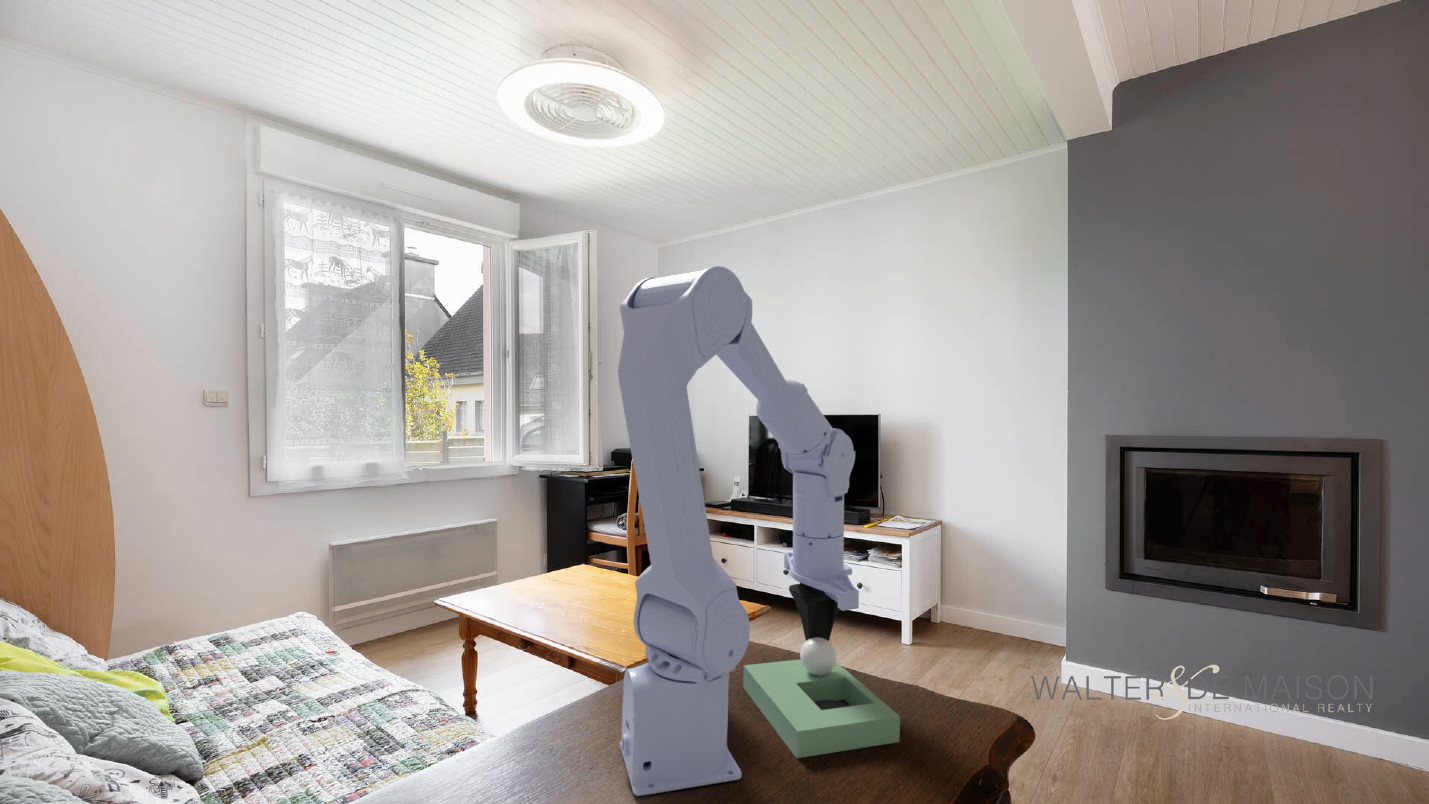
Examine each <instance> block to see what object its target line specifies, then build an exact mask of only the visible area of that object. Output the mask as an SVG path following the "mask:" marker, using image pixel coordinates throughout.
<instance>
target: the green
mask: <svg viewBox="0 0 1429 804" xmlns="http://www.w3.org/2000/svg"><path fill="white" fill-rule="evenodd" d="M835 665H836V666H834V667H833V669H832V670H831V671H830V672H829V673H827V674H825V675H814V674H811V673H810V672H808V671H807V670H806V669H805V668H804V666H803V664H802V662H801V658H800V659H790V660H781V661H780V660H779V661H773V662H772V661H771V662H765V663H764V662H763V663H755V664H753V663H752V664H745V665H744V664H743V671H742V674H743V676H742V677H743V678H742V679H743V680H742V688H743V689H744V691H745V693H747V694H748V696H749V697H750V698H751V700H752V701H753V703H754V704H755V705H756V706H757V708H758V709H759V710H760V713H762V715H763V716H764V717H765V718H766V720H767V721H768V722H769V723H770V725H771V726H772V728H773V729H774V730H775V732H776V733H777V735H779V737H780V739H781V740H782V741H783V742H784V744H785V745H786V747H788V748H787V749H788V750H789V751H791V754H793V756H794V757H795V758H796V759H800V758H801V759H802V758H807V757H808V758H809V757H813V756H819V755H825V754H833V753H839V752H845V751H850V750H858V749H863V748H868V747H876V746H883V745H889V744H896V743H900V734H901V733H900V731H901V729H900V727H901V716H900V715H899V714H898V713H897V712H896V711H894V710H893V709H892V708H891V707H889V705H887V704H886V703H885V702H884V701H883V700H882V699H880V697H878V696H877V695H876V694H874V693H873V692H872V691H871V690H870V689H869V688H868V687H866V686H865V685H864V684H863V683H861V681H859V680H858V679H857V678H856V677H855V676H853V675H852V674H851V673H850V671H848V670H847V669H846V668H844V667H843V666H842V665H840V664H839V662H837V661H836V663H835ZM842 667H843V668H842ZM843 700H844V701H845V702H847V703H845V702H842V701H843Z"/></svg>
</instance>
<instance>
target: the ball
mask: <svg viewBox="0 0 1429 804" xmlns="http://www.w3.org/2000/svg"><path fill="white" fill-rule="evenodd" d="M799 657H800V659H801V662H802V664H803V666H804V668H805V669H806V670H807V671H808V672H810V673H811V674H814V675H825V674H827V673H829V672H830V671H831V670H832V669H833V667H834V666H835V663H836V662H837V652H836V649H835V647H834V645H833V644H832V643H831V641H830V640H829V641H828V640H826V639H824V638H821V637H814V638H811V639H809V640H807V641H806V640H805V641H804V643H803V645H802V646H801V649H800V654H799Z"/></svg>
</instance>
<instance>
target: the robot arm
mask: <svg viewBox="0 0 1429 804" xmlns="http://www.w3.org/2000/svg"><path fill="white" fill-rule="evenodd" d="M619 311H620V317H621V323H622V329H623V339H622V344H621V350H620V355H619V360H618V361H619V362H618V367H617V374H618V383H619V389H620V390H619V391H620V394H621V400H622V401H621V402H622V407H623V412H624V417H625V418H624V419H625V424H626V429H627V430H626V431H627V434H628V440H629V446H630V453H631V458H632V464H633V468H634V469H633V470H634V474H635V480H636V481H635V482H636V487H637V493H638V498H639V503H640V509H641V514H642V521H643V526H644V527H643V528H644V532H645V537H646V542H647V543H646V544H647V550H648V554H649V561H650V565H649V566H647V568H645V570H643V572H642V573H641V574H640V575H639V576H638V577H636V579H635V581H634V585H635V591H636V603H635V609H634V613H633V628H634V633H635V635H636V637H637V639H638V640H639V641H640V642H641V644H644V645H645V658H646V659H648V661H647V662H646V663H644V664H642V665H639V666H635V667H631V668H628V669H626V670H625V672H624V676H623V684H622V685H623V686H622V687H623V688H622V711H621V712H622V713H621V714H622V715H621V716H622V717H621V718H622V719H621V720H622V721H621V741H620V743H619V744H620V745H619V747H620V750H621V754H622V757H623V761H624V765H625V767H626V771H627V775H628V779H629V782H630V786H631V789H632V793H633V794H634V795H635V796H637V797H641V796H646V795H648V796H649V795H652V794H658V793H664V792H671V791H676V790H683V789H688V788H694V787H701V786H707V785H713V784H720V783H726V782H731V781H738V780H740V779H741V778H742V775H743V774H742V771H741V769H740V766H739V765H738V764H737V762H736V760H735V759H734V757H733V755H732V753H731V752H730V750H729V748H728V720H729V719H728V718H729V717H728V715H729V714H728V713H729V712H728V711H729V687H730V685H729V684H730V679H729V678H730V672H733V671H734V670H736V667H737V666H738V664H739V663H740V662H741V660H742V659H743V657H744V656H745V654H746V651H747V649H748V645H749V642H750V634H751V632H750V631H751V627H750V626H751V624H750V618H749V615H748V612H747V610H746V608H745V607H744V606H743V604H742V603H741V601H740V599H739V595H738V590H737V584H736V582H735V581H734V579H733V578H732V577H731V576H730V575H729V574H728V573H727V571H726V570H725V569H724V568H723V567H722V565H720V563H719V562H718V561H717V560H716V559H715V557H714V555H713V550H712V542H711V536H710V530H709V523H708V516H707V511H706V510H707V509H706V504H705V498H704V497H705V496H704V492H703V484H702V478H701V473H700V466H699V457H698V451H697V446H696V440H695V433H694V427H693V421H692V420H693V419H692V413H691V406H690V401H689V400H690V399H689V395H688V385H689V383H690V381H692V379H693V378H694V376H695V374H696V372H697V371H698V369H701V368H702V367H703V366H704V365H706V364H708V362H709V361H711V359H713V358H714V357H715V356H717V357H718V358H719V359H720V360H721V362H722V363H723V364H724V365H725V366H726V367H727V368H728V369H729V370H730V371H731V372H732V374H733V375H735V376H736V378H738V380H739V381H740V382H741V383H742V384H743V385H744V386H745V388H746V389H748V391H749V392H750V393H751V394H752V395H753V396H754V398H756V399H757V402H756V409H755V410H756V411H755V412H756V416H757V418H758V419H759V420H760V422H761V423H762V424H763V425H764V427H765V428H766V429H767V431H768V432H769V433H770V434H771V436H772V437H773V438H774V439H775V440H776V442H777V444H778V446H777V447H778V448H779V450H780V453H781V455H780V457H781V463H782V465H783V468H784V469H785V470H787V471H788V472H789V473H790V474H792V551H790V552H784V555H783V556H784V558H783V561H784V563H783V564H784V565H783V568H784V569H786V571H789V572H790V576H791V578H792V579H793V580H794V581H796V582H798V583H794V584H791V585H789V587H788V591H789V593H790V595H791V597H792V598H793V600H794V601H793V602H794V603H795V606H796V608H797V610H798V614H799V617H800V622H801V625H802V629H803V630H802V631H803V634H804V639H805V642H806V641H807V640H809V639H811V638H814V637H821V638H824V639H826V640H828V641H829V642H830V639H831V635H832V632H833V629H834V625H835V621H836V618H837V617H838V614H839V613H840V610H841V611H852V610H855V609H856V610H858V609H859V605H860V604H859V602H860V599H859V598H860V595H859V594H860V591H859V589H857V588H856V587H854V585H853V583H852V581H851V579H850V578H849V576H851V575H852V574H853V568H852V567H851V566H850V565H847V564H845V563H844V562H845V561H844V560H845V559H844V548H845V547H844V546H845V545H844V541H845V539H844V537H845V536H844V535H845V533H844V532H845V524H844V523H845V520H844V519H845V494H848V491H849V488H850V477H851V472H852V470H853V468H854V466H855V465H854V464H855V461H856V451H855V450H854V445H853V442H852V439H851V438H850V436H849V435H848V434H846V433H845V432H844V431H843V430H842V429H840V428H833V427H832V425H831V424H830V422H829V421H828V419H827V418H826V417H825V415H824V414H823V412H822V411H821V410H820V409H819V406H818V405H817V404H816V402H815V401H814V400H813V398H812V397H811V395H810V394H809V392H808V388H807V387H806V385H805V384H804V383H800V382H799V381H797V380H792V379H791V380H790V379H787V380H786V379H785V377H784V375H783V374H782V372H781V370H780V368H779V367H778V364H777V363H776V362H775V360H774V358H773V357H772V355H771V354H770V351H769V349H768V347H766V345H765V343H764V342H763V340H762V338H761V336H760V335H759V332H758V331H757V329H756V328H755V326H754V324H753V322H752V320H753V300H752V298H751V297H750V295H749V294H748V293H747V292H746V291H745V290H744V287H743V284H742V282H741V281H740V279H739V278H738V276H737V275H736V274H735V273H734V272H733V271H732V270H730V269H729V268H728V267H724V266H721V265H720V266H719V265H718V266H711V267H708V268H705V269H703V270H698V271H690V272H686V273H680V274H675V275H667V276H663V277H647V278H643V279H642V280H640V281H638V282H637V283H636V284H635V286H633V288H632V289H631V291H630V292H629V293H628V294H627V296H626V297H625V298H624V300H623V301H622V302H621V304H620V305H619Z"/></svg>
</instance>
